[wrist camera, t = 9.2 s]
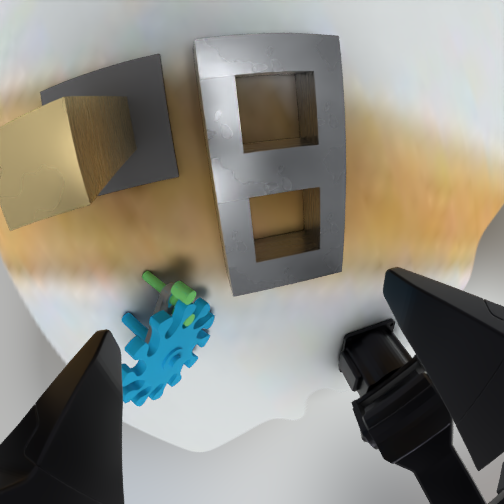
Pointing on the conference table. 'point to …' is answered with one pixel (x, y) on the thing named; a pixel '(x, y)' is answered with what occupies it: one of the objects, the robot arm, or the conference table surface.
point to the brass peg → (62, 156)
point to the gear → (164, 340)
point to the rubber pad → (132, 117)
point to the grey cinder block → (276, 155)
